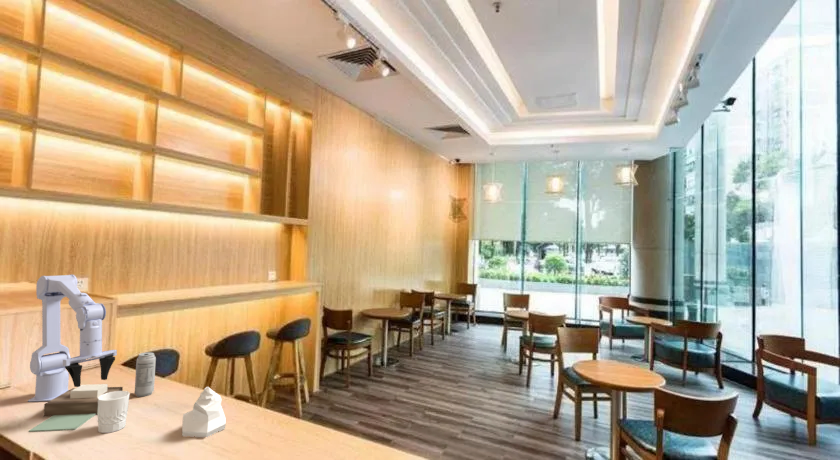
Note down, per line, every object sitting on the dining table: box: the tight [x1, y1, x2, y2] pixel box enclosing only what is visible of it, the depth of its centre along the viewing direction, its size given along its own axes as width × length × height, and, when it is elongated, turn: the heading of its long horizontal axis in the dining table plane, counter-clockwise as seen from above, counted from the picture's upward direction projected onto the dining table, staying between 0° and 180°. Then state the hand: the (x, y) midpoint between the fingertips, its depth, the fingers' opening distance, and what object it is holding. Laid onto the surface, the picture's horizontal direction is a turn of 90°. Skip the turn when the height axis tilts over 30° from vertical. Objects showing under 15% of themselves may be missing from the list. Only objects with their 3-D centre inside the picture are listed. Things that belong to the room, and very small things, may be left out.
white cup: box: [97, 390, 130, 434], centre depth 124 cm, size 8×8×10 cm
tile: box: [70, 383, 109, 399], centre depth 139 cm, size 6×8×2 cm
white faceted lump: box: [181, 386, 227, 438], centre depth 126 cm, size 12×15×14 cm
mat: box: [28, 413, 97, 433], centre depth 126 cm, size 11×12×1 cm
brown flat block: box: [43, 386, 124, 417], centre depth 139 cm, size 14×16×4 cm
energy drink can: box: [134, 351, 157, 398], centre depth 151 cm, size 6×6×15 cm
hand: (90, 382), depth 133 cm, fingers open, 7 cm apart
